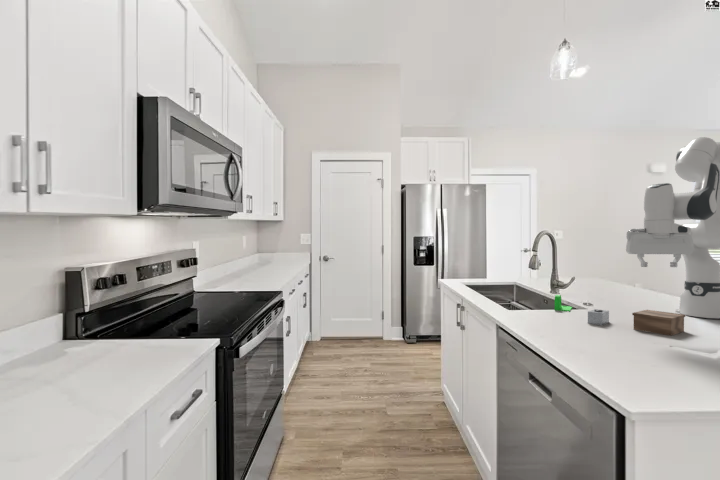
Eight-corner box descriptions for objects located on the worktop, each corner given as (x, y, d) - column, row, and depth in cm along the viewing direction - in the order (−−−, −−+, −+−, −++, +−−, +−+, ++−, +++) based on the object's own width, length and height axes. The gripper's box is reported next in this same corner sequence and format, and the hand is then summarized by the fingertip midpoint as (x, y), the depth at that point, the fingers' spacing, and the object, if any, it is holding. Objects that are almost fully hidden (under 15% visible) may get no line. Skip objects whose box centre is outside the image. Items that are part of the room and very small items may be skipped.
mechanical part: (569, 315, 176) (569, 296, 176) (554, 313, 180) (554, 295, 180) (573, 310, 186) (573, 293, 186) (558, 309, 190) (558, 292, 190)
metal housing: (594, 321, 162) (594, 308, 162) (608, 323, 158) (608, 309, 158) (587, 324, 157) (587, 310, 157) (602, 326, 153) (602, 312, 153)
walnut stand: (646, 325, 154) (646, 309, 154) (685, 331, 144) (685, 314, 144) (632, 329, 148) (632, 312, 148) (671, 335, 138) (671, 318, 138)
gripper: (630, 228, 145) (630, 267, 145) (696, 228, 141) (696, 268, 141) (622, 228, 151) (622, 266, 151) (685, 228, 147) (685, 266, 147)
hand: (658, 267), depth 146 cm, fingers open, 8 cm apart
